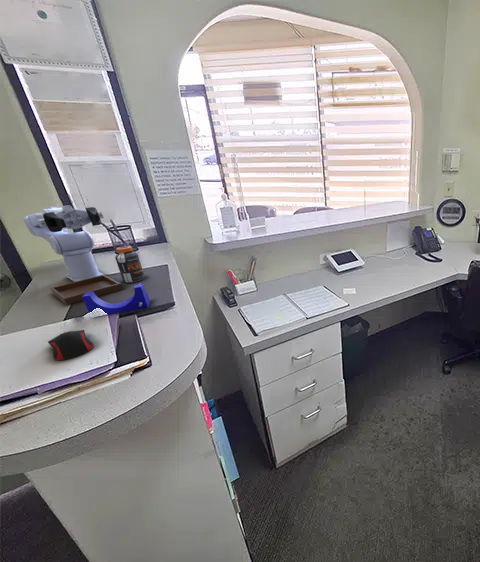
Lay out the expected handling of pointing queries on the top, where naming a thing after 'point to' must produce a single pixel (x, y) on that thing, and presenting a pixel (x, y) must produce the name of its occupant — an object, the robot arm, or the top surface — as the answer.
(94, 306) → the blue curved cradle
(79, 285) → the desk tray
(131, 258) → the pill bottle
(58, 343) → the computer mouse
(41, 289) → the top surface
